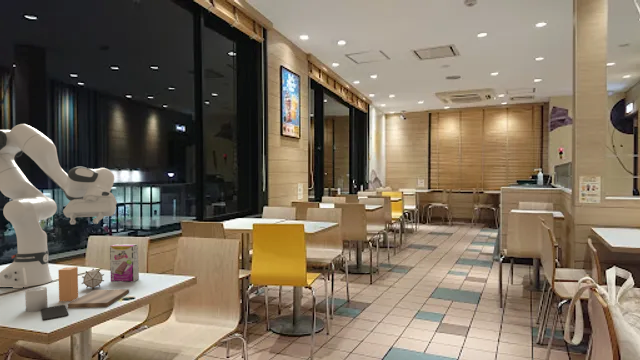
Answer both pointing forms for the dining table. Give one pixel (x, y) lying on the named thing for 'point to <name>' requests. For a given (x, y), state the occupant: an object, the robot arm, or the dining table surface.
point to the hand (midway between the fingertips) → (83, 223)
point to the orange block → (68, 284)
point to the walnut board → (98, 298)
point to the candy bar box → (124, 262)
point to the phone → (54, 312)
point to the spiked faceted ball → (92, 278)
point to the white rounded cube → (36, 299)
